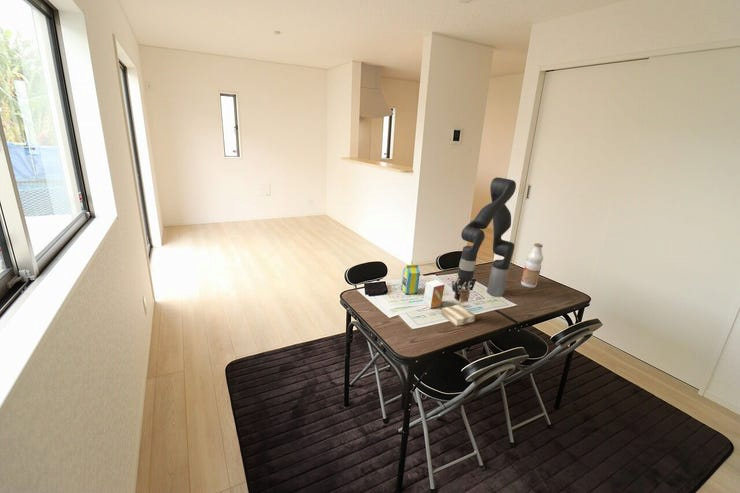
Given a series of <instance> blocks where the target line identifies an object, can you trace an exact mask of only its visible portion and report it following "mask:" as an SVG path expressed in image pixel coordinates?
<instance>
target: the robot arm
mask: <svg viewBox="0 0 740 493" xmlns="http://www.w3.org/2000/svg"><path fill="white" fill-rule="evenodd" d="M516 189H517V183H516V181H515V180H513V179H511V178H509V179H508V178H504V177H495V178H493V179H492V180H491V183H490V198H491V202H490V203H488V204H486V205H485V206H483V207H482V208H481V209H480V211H479V212H478V213H477V215H476V216H475V218H474V219H472V220H471V221H470V222H469V223H468V224H466V226H465V227H464V228H463V229H462V231H461V239H462V240H463V241H465V242H468V243H471V244H472V245H465V246H463V248H462V251H461V258H460V260H459V264H458V270H457V276H458V277H457V280H452V282H451V283H452V284H451V285H452V287H451V288H452V292H454V294H455V299H454V300H456V301H457V300H459V297H460V292H461V290H463V288H464V289H466V290H467V291H469V292H470V291H473V289H474V287H475V284H476V281H477V279H476V278H474V275H475V271H476V270H475V269H476V264H477V258H478V257H477V256H478V253H479V251H480V247H481V246H482V244H483V242H484V240H485V237H486V235H485V232H484V231H483V230H486V229H487V228H488V227H489V225H490V223H492V227H493V228H492V229H493V239H492V240H493V241H492V251H493V254H494V255H497V256H499V257H503V259H495V260H492V265H491V270H490V274H489V277H488V278H489V279H488V284H487V288H486V294H488V295H490V296H493V297H499V298H501V297H503V296H504V294H505V289H506V286H507V281H508V280H507V278H508V274H509V268H510V265H511V261H512V258H513V255H514V251H515V243H514V242H512V241H507V240H504V239H502V237H503V235H504V234H505V233H507V232H508V231H509V229H510V228H511V225H512V214H511V211H510V210H509V208H508V207H507V205H506V203H507V202H509V200H511V198H512V196H513V195H514V194H515V192H516ZM458 289H459V291H458Z"/></svg>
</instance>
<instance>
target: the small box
mask: <svg viewBox="0 0 740 493" xmlns="http://www.w3.org/2000/svg"><path fill="white" fill-rule="evenodd" d="M444 291H445V283H443V282H442V281H439V280H438V279H436V280H431V281H426V282H425V287H424V292H423V293H424V295H423V300H422V305H424V306H426V307H428V308H429V309H435V308H437V307H441V306H442V303H443V296H444Z"/></svg>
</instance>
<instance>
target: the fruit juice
mask: <svg viewBox="0 0 740 493" xmlns="http://www.w3.org/2000/svg"><path fill="white" fill-rule="evenodd" d="M543 246H544V244H541V243H538V242H537V243H536V242H535V243H533V248H532V250H531V251H530V252H529V253H528V254H527V257H526V258H527V260H526V262H525V264H524V267H523V272H522V276H521V280H520V284H521V285H522V286H523V287H526V288H530V289H534V288H535V289H536V287H537V285H538V282H539V278H540V273H541V269H542V263H543V261H544V255H543V250H542V249H543Z"/></svg>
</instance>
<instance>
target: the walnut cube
mask: <svg viewBox="0 0 740 493" xmlns="http://www.w3.org/2000/svg"><path fill="white" fill-rule="evenodd" d="M458 291H459V289H458ZM469 297H470V291H467V290H466V289H465V287H463V290H461V292H460V297H459V300H456V299H455V293H454V295H453V299H454V300H456V301H457V302H459V304H461V303H464V302H465V303H466V302H468V301H469V299H470V298H469Z"/></svg>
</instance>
